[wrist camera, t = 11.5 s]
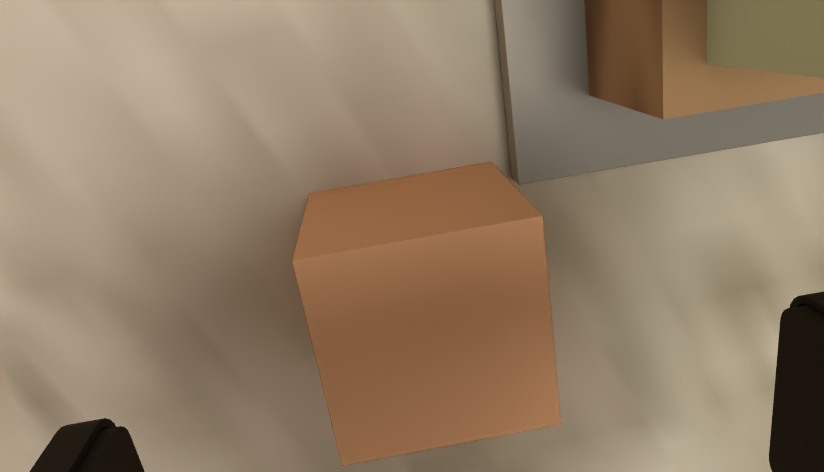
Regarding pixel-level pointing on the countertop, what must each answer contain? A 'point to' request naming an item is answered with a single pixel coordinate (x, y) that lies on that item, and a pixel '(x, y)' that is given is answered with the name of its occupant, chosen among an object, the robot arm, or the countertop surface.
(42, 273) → the countertop surface
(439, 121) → the countertop surface
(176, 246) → the countertop surface
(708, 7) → the sage brick
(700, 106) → the walnut brick
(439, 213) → the terracotta brick
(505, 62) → the build plate
